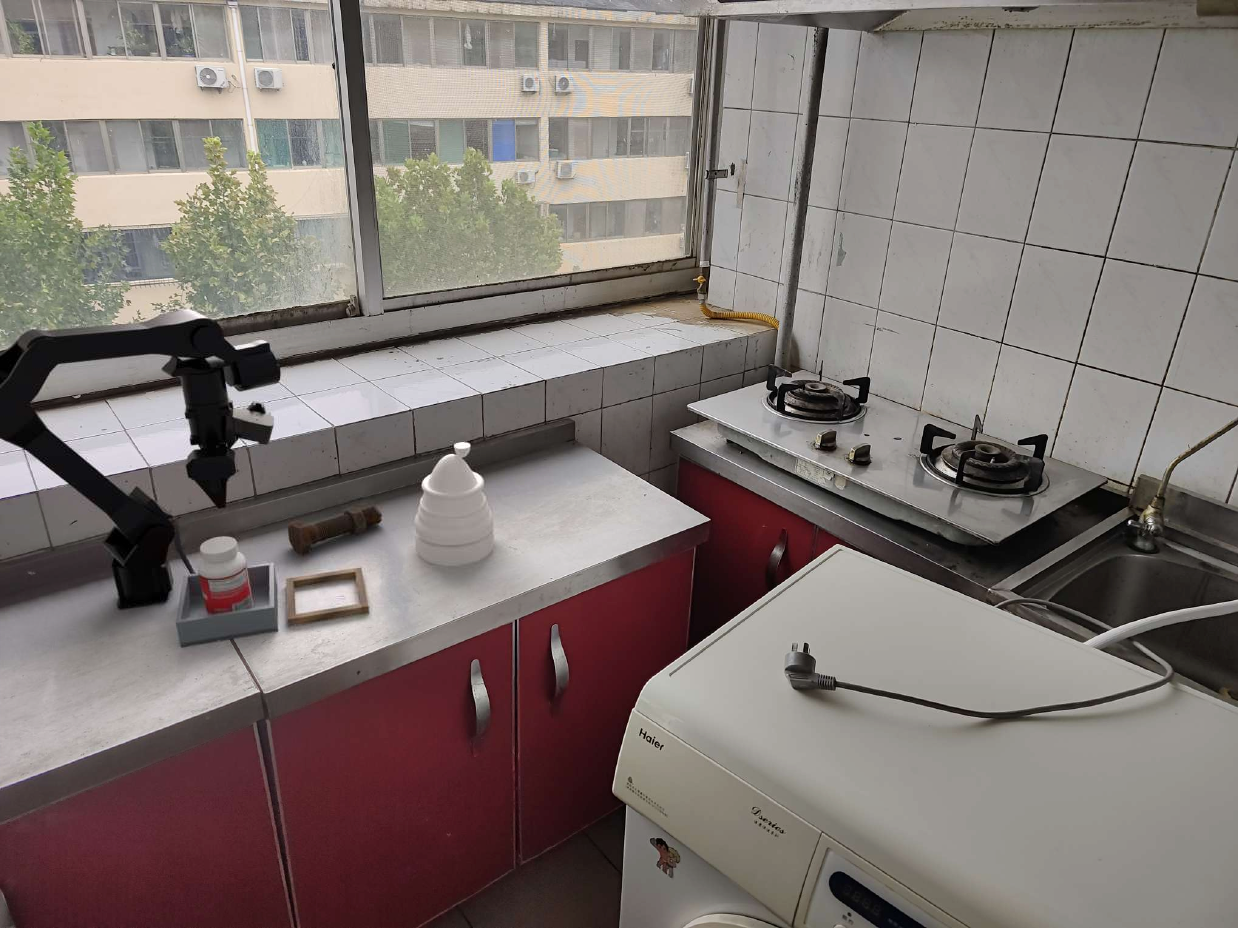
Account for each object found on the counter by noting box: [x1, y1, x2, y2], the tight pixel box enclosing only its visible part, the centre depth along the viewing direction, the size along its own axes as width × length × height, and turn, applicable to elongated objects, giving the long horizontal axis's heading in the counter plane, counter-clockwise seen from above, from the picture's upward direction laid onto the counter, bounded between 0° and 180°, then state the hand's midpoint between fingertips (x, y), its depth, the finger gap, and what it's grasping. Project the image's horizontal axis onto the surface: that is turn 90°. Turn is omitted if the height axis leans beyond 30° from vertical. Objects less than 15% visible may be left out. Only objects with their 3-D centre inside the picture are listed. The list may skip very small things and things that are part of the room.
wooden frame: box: [285, 566, 370, 627], centre depth 123 cm, size 11×11×1 cm
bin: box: [175, 562, 279, 648], centre depth 118 cm, size 12×12×4 cm
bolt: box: [287, 505, 383, 556], centre depth 139 cm, size 6×5×15 cm
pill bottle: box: [197, 535, 253, 615], centre depth 116 cm, size 6×6×11 cm
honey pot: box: [414, 441, 495, 567], centre depth 135 cm, size 13×13×18 cm
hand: (223, 494), depth 126 cm, fingers open, 9 cm apart
